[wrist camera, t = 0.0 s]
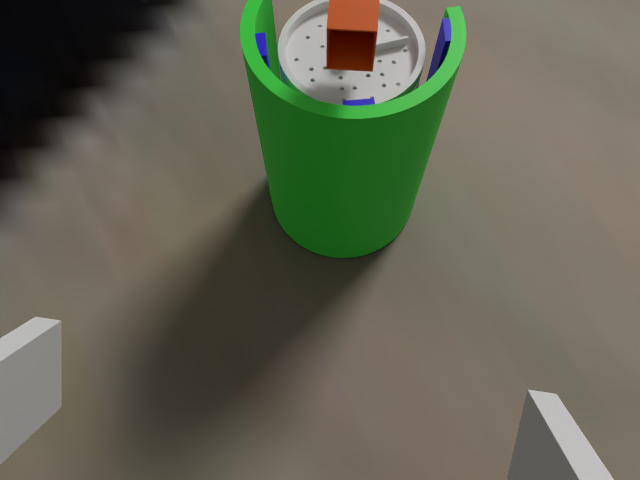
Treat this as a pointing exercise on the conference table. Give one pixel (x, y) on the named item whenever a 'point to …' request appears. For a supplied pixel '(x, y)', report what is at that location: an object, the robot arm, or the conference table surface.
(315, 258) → the conference table surface
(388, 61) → the green cylindrical container
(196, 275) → the conference table surface
